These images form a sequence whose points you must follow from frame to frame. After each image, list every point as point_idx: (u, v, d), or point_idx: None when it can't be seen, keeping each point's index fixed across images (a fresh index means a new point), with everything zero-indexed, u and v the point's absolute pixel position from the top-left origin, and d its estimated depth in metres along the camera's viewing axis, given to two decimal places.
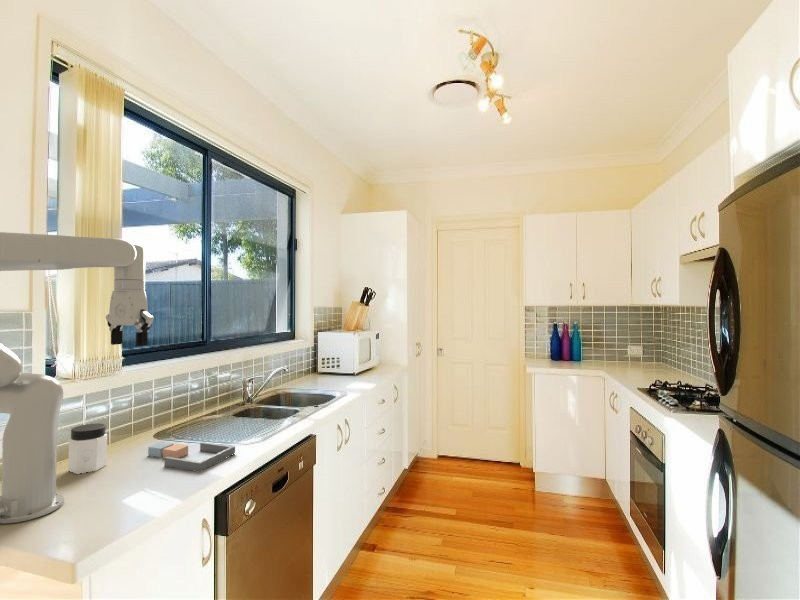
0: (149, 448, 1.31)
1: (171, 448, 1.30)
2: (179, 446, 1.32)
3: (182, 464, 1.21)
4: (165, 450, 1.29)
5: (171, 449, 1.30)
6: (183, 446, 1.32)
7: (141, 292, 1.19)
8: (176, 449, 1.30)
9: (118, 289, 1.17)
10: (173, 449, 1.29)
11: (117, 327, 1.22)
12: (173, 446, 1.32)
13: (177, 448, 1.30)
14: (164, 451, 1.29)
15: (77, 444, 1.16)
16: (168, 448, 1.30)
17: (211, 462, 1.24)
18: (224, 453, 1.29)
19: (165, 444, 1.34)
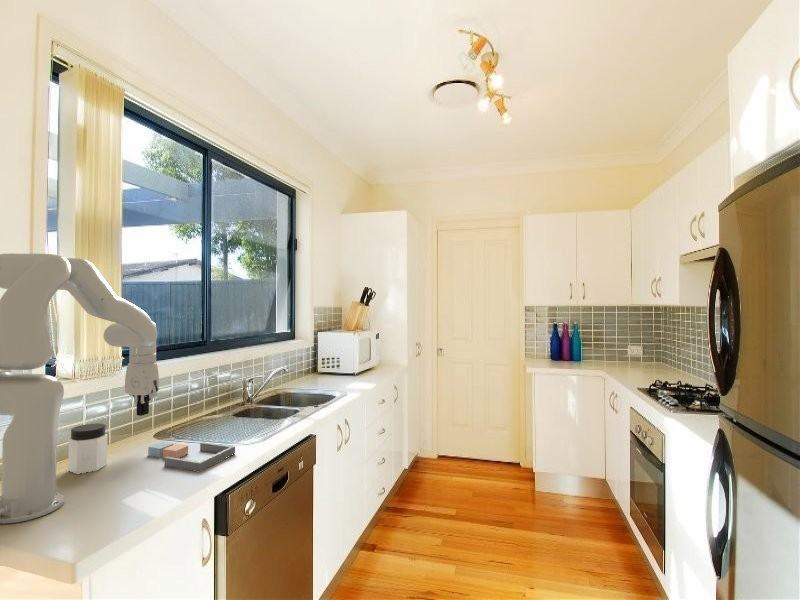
0: (149, 448, 1.31)
1: (171, 448, 1.30)
2: (179, 446, 1.32)
3: (182, 464, 1.21)
4: (165, 450, 1.29)
5: (172, 449, 1.30)
6: (183, 446, 1.32)
7: (153, 365, 1.35)
8: (176, 449, 1.30)
9: (133, 364, 1.32)
10: (173, 449, 1.29)
11: (141, 398, 1.37)
12: (173, 446, 1.32)
13: (177, 448, 1.30)
14: (164, 451, 1.29)
15: (77, 444, 1.16)
16: (168, 448, 1.30)
17: (211, 462, 1.24)
18: (224, 453, 1.29)
19: (165, 444, 1.34)
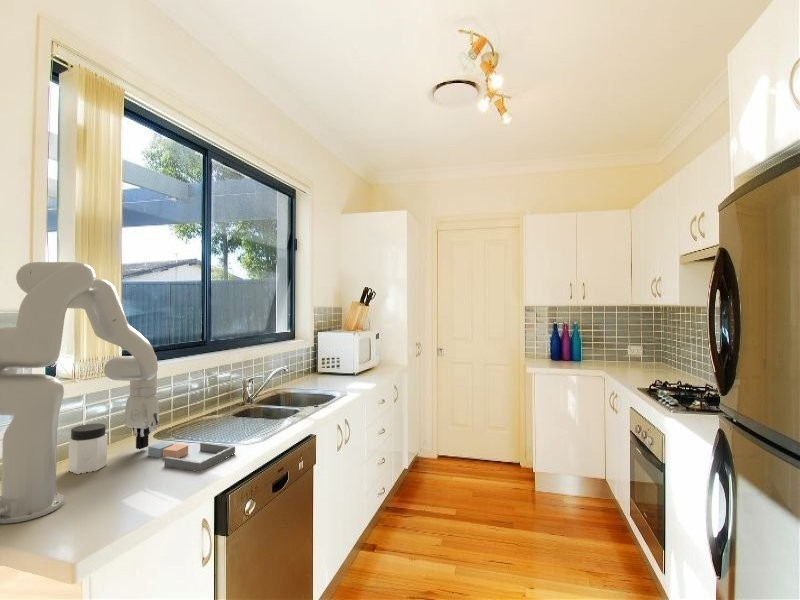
0: (149, 448, 1.31)
1: (171, 448, 1.30)
2: (179, 446, 1.32)
3: (182, 464, 1.21)
4: (165, 450, 1.29)
5: (172, 449, 1.30)
6: (183, 446, 1.32)
7: (153, 397, 1.34)
8: (176, 449, 1.30)
9: (133, 397, 1.32)
10: (173, 449, 1.29)
11: (140, 431, 1.36)
12: (173, 446, 1.32)
13: (177, 448, 1.30)
14: (164, 451, 1.29)
15: (77, 444, 1.16)
16: (168, 448, 1.30)
17: (211, 462, 1.24)
18: (224, 453, 1.29)
19: (165, 444, 1.34)
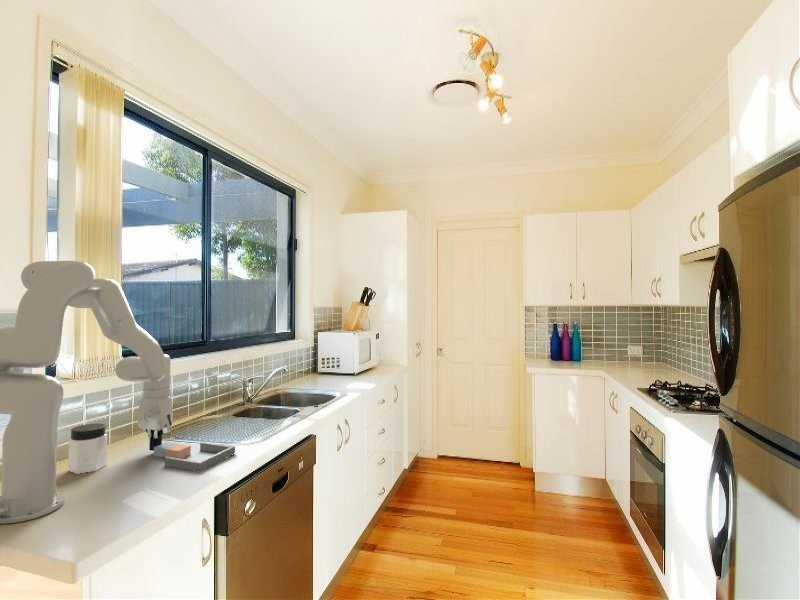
0: (155, 448, 1.31)
1: (173, 448, 1.30)
2: (181, 446, 1.32)
3: (182, 464, 1.21)
4: (167, 450, 1.29)
5: (174, 449, 1.29)
6: (185, 446, 1.32)
7: (167, 399, 1.33)
8: (178, 449, 1.29)
9: (147, 398, 1.30)
10: (175, 449, 1.29)
11: (153, 432, 1.35)
12: (175, 446, 1.32)
13: (179, 448, 1.30)
14: (166, 451, 1.29)
15: (77, 444, 1.16)
16: (170, 448, 1.30)
17: (211, 462, 1.24)
18: (224, 453, 1.29)
19: (171, 444, 1.34)
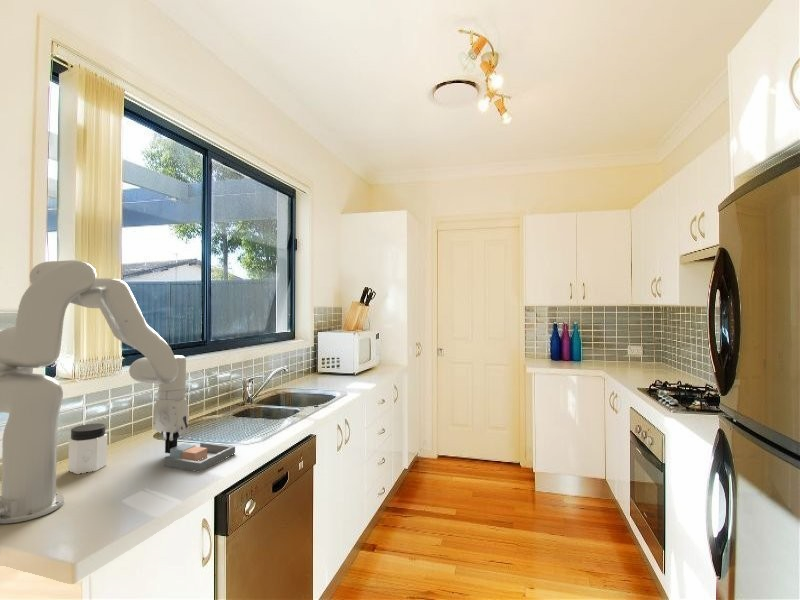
0: (171, 450, 1.29)
1: (190, 451, 1.28)
2: (198, 448, 1.30)
3: (182, 464, 1.21)
4: (184, 452, 1.27)
5: (191, 451, 1.27)
6: (202, 448, 1.30)
7: (183, 400, 1.31)
8: (195, 451, 1.27)
9: (163, 400, 1.28)
10: (192, 451, 1.27)
11: (169, 434, 1.33)
12: (192, 448, 1.30)
13: (196, 450, 1.28)
14: (183, 453, 1.27)
15: (77, 444, 1.16)
16: (187, 450, 1.28)
17: (211, 462, 1.24)
18: (224, 453, 1.29)
19: (187, 446, 1.32)
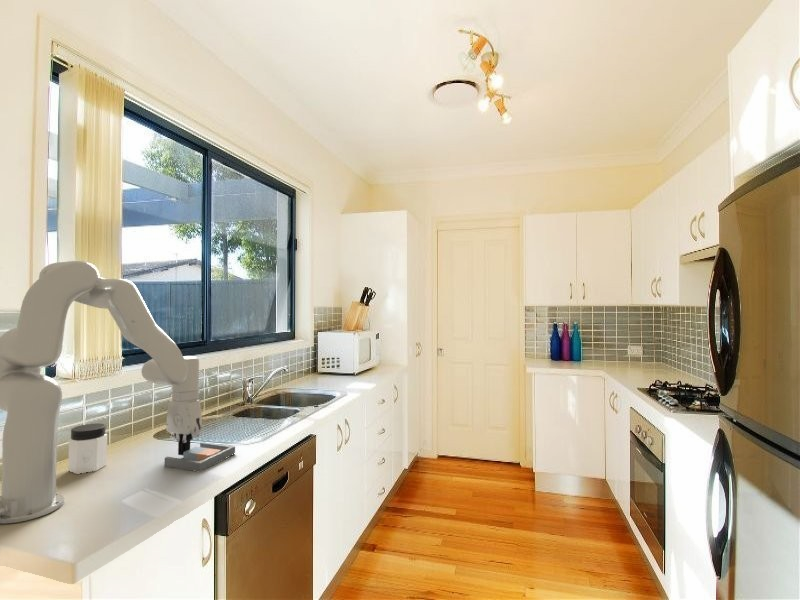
0: (184, 453, 1.28)
1: (205, 453, 1.27)
2: (212, 450, 1.29)
3: (182, 464, 1.21)
4: (199, 455, 1.26)
5: (205, 453, 1.26)
6: (216, 450, 1.29)
7: (196, 402, 1.29)
8: (210, 453, 1.26)
9: (176, 401, 1.27)
10: (207, 453, 1.26)
11: (182, 436, 1.31)
12: (206, 450, 1.29)
13: (210, 452, 1.27)
14: (197, 456, 1.26)
15: (77, 444, 1.16)
16: (201, 452, 1.27)
17: (211, 462, 1.24)
18: (224, 453, 1.29)
19: (200, 449, 1.30)
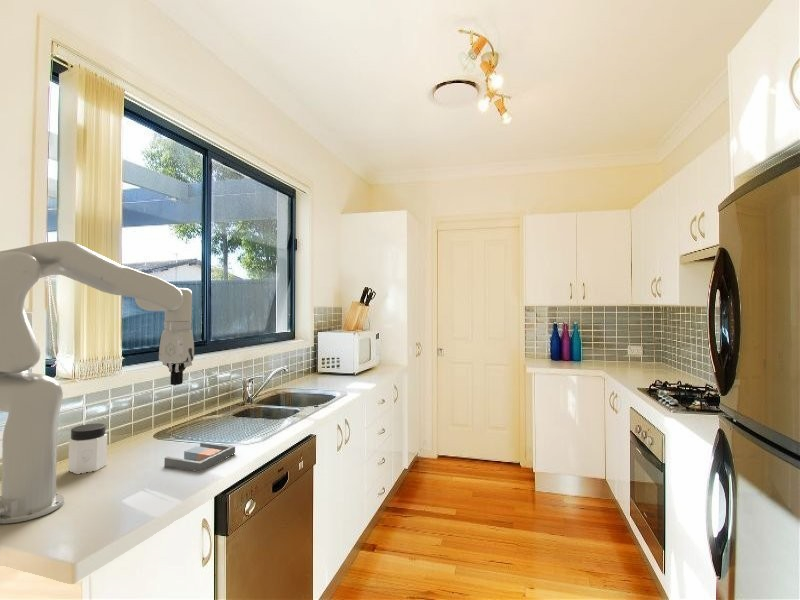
0: (185, 453, 1.28)
1: (205, 453, 1.27)
2: (213, 450, 1.29)
3: (182, 464, 1.21)
4: (199, 455, 1.26)
5: (206, 453, 1.26)
6: (217, 450, 1.29)
7: (189, 332, 1.30)
8: (210, 453, 1.26)
9: (169, 330, 1.28)
10: (207, 453, 1.26)
11: (175, 367, 1.32)
12: (207, 450, 1.29)
13: (211, 452, 1.27)
14: (198, 456, 1.26)
15: (77, 444, 1.16)
16: (202, 452, 1.27)
17: (211, 462, 1.24)
18: (224, 453, 1.29)
19: (201, 448, 1.30)
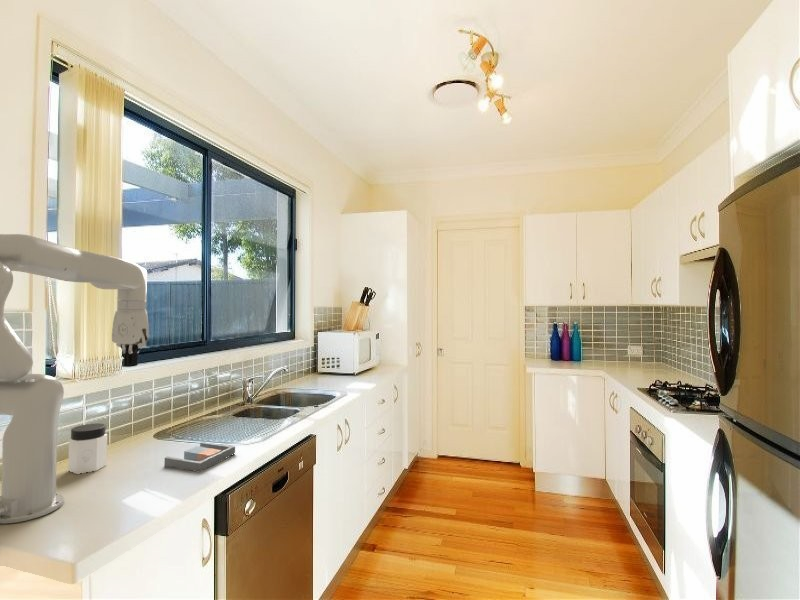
0: (185, 453, 1.28)
1: (205, 453, 1.27)
2: (213, 450, 1.29)
3: (182, 464, 1.21)
4: (199, 454, 1.26)
5: (206, 453, 1.26)
6: (217, 450, 1.29)
7: (143, 312, 1.26)
8: (210, 453, 1.26)
9: (121, 310, 1.24)
10: (207, 453, 1.26)
11: (129, 349, 1.28)
12: (207, 450, 1.29)
13: (211, 452, 1.27)
14: (198, 455, 1.26)
15: (77, 444, 1.16)
16: (202, 452, 1.27)
17: (211, 462, 1.24)
18: (224, 453, 1.29)
19: (201, 448, 1.30)
